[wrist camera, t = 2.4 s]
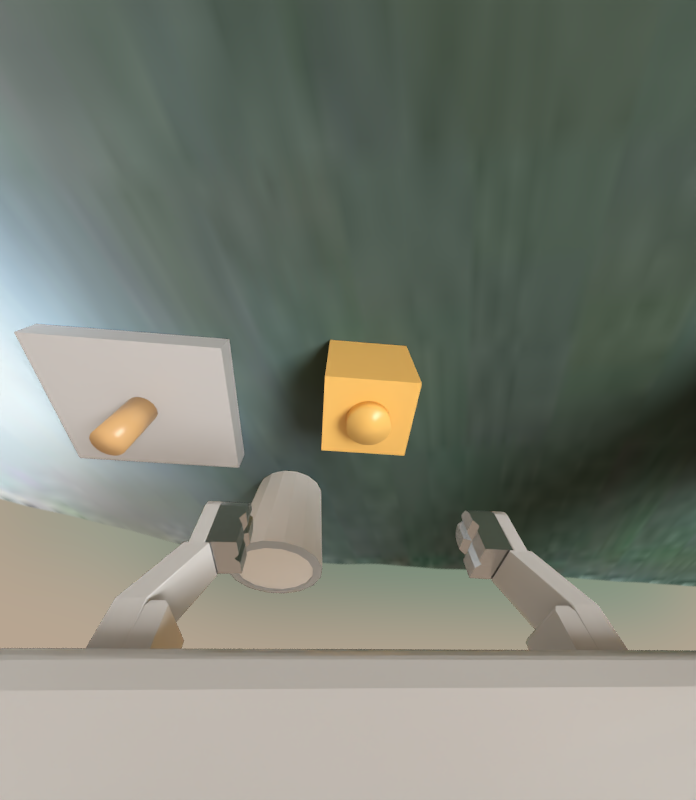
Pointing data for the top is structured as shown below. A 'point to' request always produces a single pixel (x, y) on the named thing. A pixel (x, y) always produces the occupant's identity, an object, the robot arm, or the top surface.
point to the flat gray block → (140, 393)
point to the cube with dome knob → (368, 398)
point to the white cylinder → (284, 535)
